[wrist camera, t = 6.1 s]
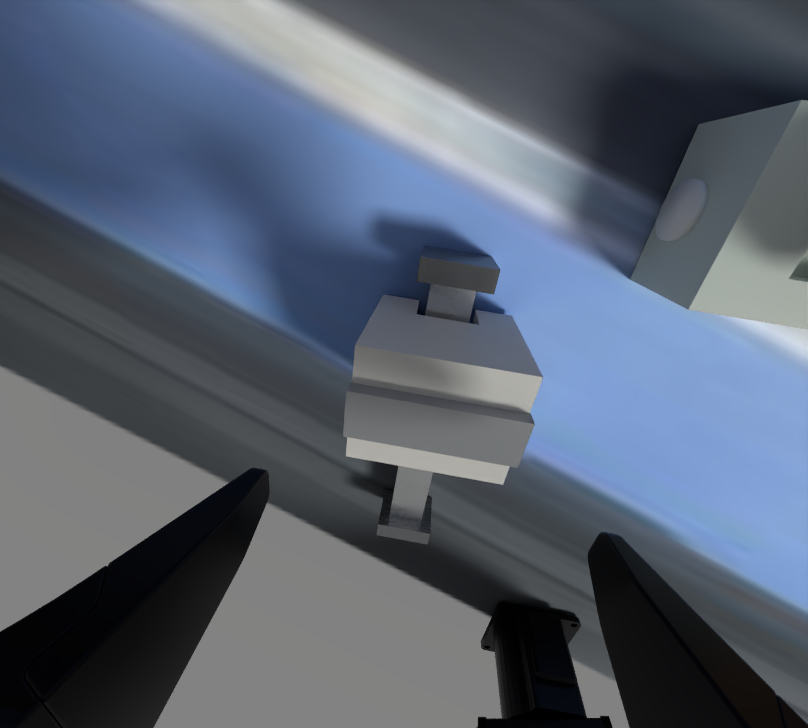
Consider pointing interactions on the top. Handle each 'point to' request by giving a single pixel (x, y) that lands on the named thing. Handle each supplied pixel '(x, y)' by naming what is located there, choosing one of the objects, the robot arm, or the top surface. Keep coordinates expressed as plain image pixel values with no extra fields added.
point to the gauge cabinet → (737, 221)
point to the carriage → (441, 392)
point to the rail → (447, 299)
